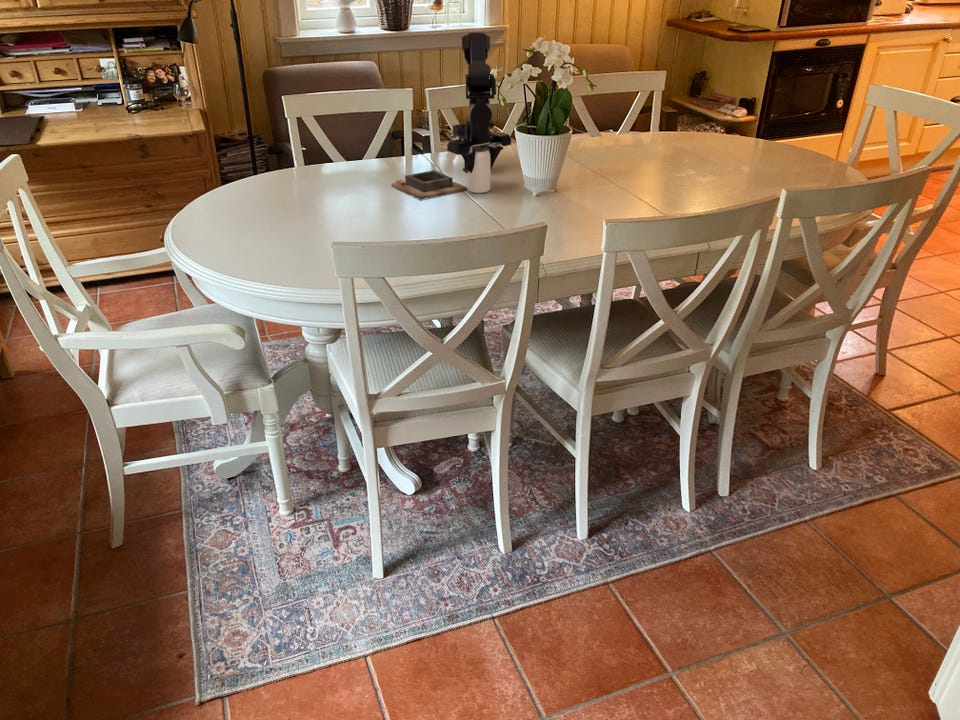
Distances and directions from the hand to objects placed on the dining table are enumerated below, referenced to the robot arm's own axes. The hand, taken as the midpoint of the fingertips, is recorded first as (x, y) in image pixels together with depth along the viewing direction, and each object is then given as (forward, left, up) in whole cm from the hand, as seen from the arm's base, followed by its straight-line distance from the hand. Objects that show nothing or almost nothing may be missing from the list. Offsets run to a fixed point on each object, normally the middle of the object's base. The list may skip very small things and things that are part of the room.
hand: (479, 173), depth 217 cm
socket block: (+11, -10, -5) cm, 16 cm away
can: (0, 0, -5) cm, 5 cm away
